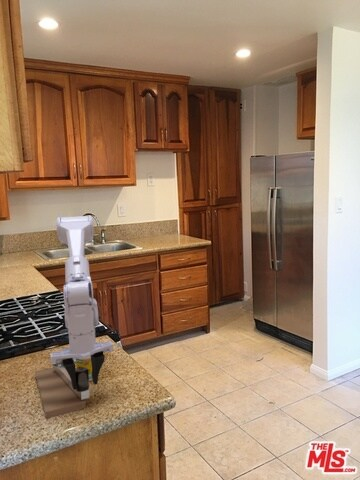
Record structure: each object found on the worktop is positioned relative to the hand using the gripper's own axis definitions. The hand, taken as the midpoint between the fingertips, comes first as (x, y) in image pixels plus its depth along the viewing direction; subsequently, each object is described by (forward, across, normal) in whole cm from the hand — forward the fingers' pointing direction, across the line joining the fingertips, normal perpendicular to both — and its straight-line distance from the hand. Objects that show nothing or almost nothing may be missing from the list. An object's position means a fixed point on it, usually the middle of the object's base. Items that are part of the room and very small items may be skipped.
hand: (84, 385), depth 94 cm
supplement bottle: (+5, +3, +12) cm, 13 cm away
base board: (+4, -5, +9) cm, 11 cm away
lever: (+3, -2, +8) cm, 9 cm away
